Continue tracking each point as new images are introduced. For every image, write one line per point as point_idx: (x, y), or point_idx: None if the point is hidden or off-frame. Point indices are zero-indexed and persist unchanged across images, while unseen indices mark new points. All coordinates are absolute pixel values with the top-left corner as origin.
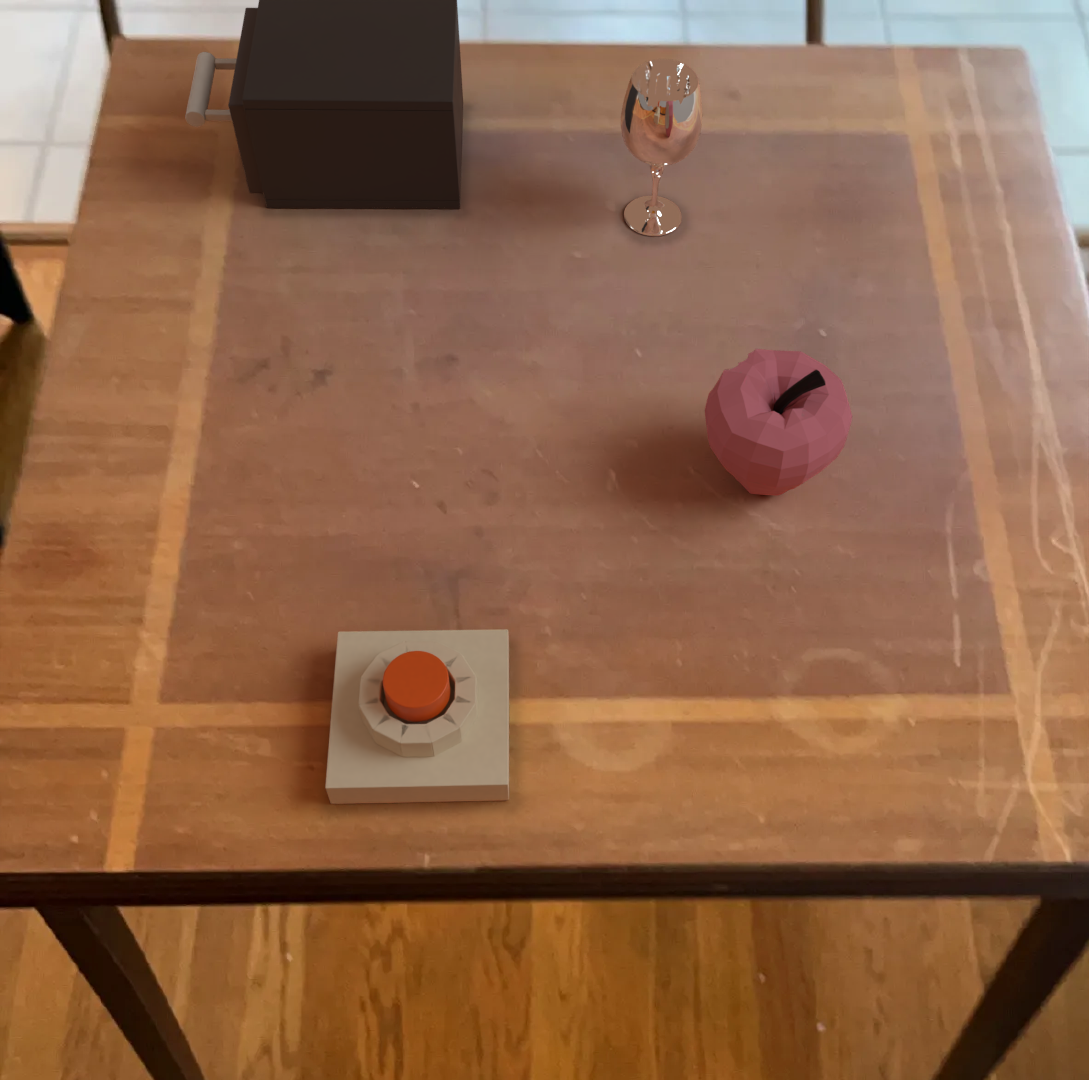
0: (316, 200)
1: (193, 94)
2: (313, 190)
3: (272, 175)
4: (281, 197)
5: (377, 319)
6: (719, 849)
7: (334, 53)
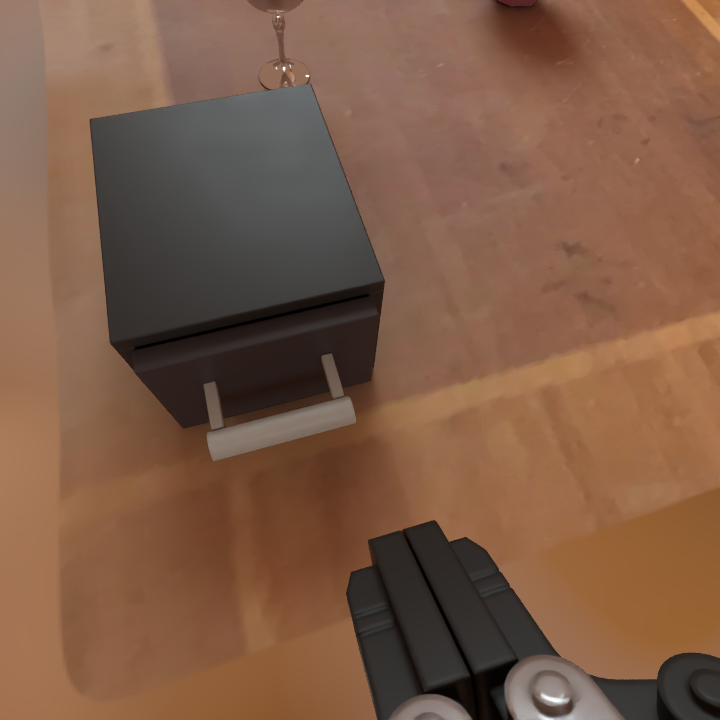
0: None
1: (313, 419)
2: None
3: None
4: None
5: (485, 227)
6: None
7: (250, 207)
